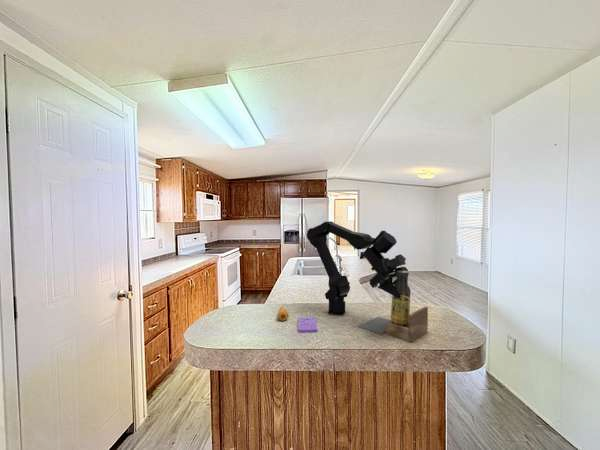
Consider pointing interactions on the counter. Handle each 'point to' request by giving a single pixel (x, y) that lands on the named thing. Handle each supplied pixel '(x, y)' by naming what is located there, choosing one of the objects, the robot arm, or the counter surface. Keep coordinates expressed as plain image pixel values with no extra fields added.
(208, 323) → the counter surface
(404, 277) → the sauce bottle
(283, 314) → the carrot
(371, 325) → the charcoal mat
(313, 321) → the sponges
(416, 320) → the bottle rack
